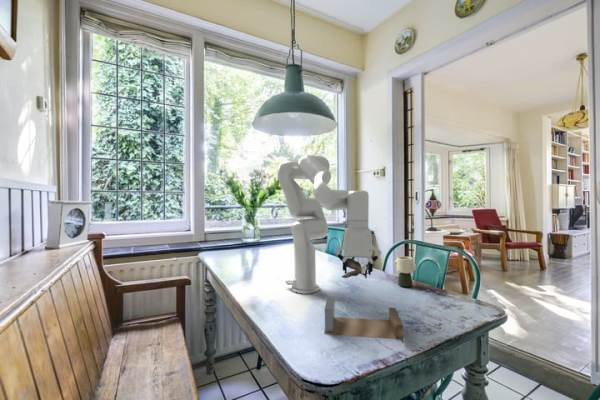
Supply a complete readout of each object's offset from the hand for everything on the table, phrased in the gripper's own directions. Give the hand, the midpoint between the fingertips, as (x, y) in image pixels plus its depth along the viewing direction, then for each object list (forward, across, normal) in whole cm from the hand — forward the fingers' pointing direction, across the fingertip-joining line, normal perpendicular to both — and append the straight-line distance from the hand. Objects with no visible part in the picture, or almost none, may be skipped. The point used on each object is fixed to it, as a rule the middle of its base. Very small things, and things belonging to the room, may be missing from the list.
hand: (357, 272), depth 100 cm
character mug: (+14, +23, +31) cm, 41 cm away
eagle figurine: (+2, -1, 0) cm, 2 cm away
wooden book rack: (+14, +1, -16) cm, 21 cm away
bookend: (+12, -9, -16) cm, 22 cm away
